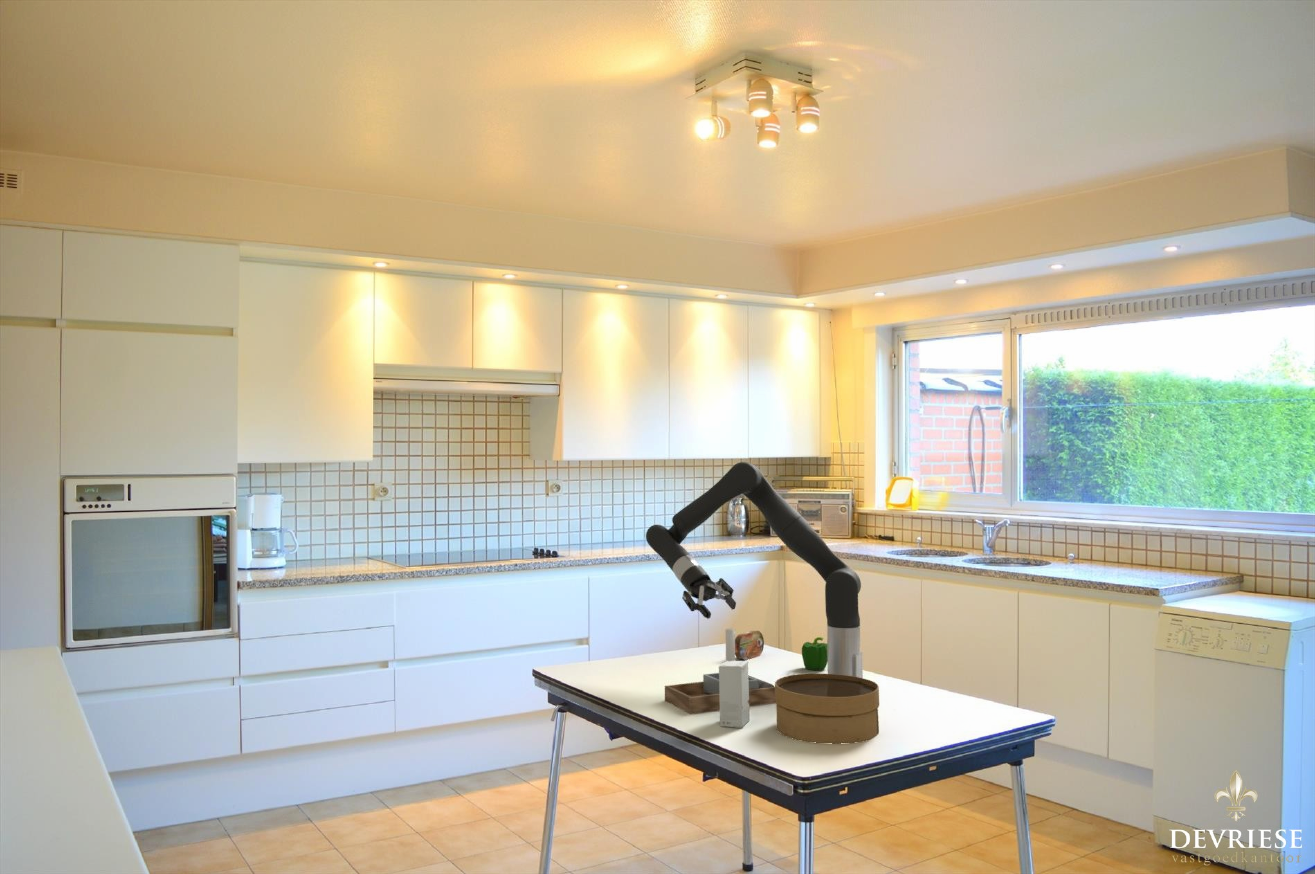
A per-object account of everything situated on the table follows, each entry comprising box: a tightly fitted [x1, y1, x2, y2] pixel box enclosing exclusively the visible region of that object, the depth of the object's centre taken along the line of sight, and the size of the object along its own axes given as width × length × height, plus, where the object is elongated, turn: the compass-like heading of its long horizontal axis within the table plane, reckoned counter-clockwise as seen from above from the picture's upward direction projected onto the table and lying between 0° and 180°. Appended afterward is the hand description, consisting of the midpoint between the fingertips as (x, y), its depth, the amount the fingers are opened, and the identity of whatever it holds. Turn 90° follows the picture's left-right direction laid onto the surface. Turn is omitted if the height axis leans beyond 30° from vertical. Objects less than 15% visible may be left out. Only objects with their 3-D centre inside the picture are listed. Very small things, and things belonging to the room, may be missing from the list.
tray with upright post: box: [702, 628, 760, 695], centre depth 265 cm, size 10×12×18 cm
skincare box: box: [718, 660, 750, 729], centre depth 242 cm, size 8×6×15 cm
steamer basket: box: [774, 672, 880, 745], centre depth 236 cm, size 25×25×11 cm
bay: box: [664, 674, 776, 715], centre depth 263 cm, size 26×15×5 cm, turn 116°
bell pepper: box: [801, 636, 828, 671], centre depth 303 cm, size 8×8×10 cm
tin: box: [735, 630, 765, 661], centre depth 321 cm, size 15×3×8 cm, turn 143°
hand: (722, 611), depth 275 cm, fingers open, 8 cm apart
